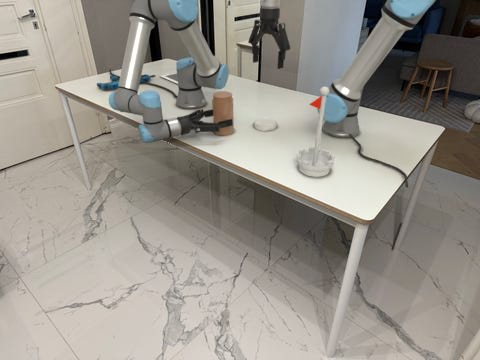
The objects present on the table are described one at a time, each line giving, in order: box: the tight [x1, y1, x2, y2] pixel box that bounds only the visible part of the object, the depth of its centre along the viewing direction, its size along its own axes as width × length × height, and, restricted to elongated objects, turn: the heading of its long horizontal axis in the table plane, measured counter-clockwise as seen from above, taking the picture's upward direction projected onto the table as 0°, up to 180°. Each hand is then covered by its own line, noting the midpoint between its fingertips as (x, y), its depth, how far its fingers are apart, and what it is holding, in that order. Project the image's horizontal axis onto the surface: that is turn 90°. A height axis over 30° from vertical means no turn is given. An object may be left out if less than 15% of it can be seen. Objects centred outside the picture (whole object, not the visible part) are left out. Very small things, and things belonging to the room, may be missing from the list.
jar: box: [211, 90, 235, 136], centre depth 145 cm, size 9×9×17 cm
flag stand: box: [296, 86, 335, 178], centre depth 114 cm, size 13×13×30 cm
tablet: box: [159, 71, 178, 85], centre depth 214 cm, size 32×20×1 cm, turn 41°
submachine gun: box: [96, 73, 156, 91], centre depth 208 cm, size 34×4×25 cm
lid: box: [253, 116, 277, 132], centre depth 154 cm, size 10×10×2 cm
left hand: (224, 116), depth 146 cm, fingers open, 13 cm apart
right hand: (267, 65), depth 139 cm, fingers open, 13 cm apart
